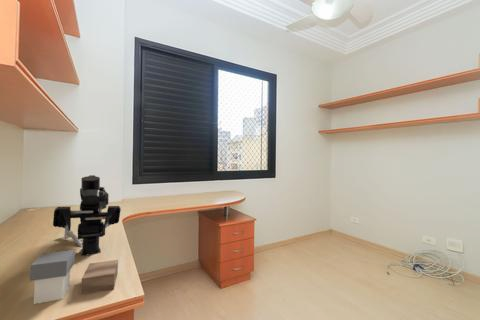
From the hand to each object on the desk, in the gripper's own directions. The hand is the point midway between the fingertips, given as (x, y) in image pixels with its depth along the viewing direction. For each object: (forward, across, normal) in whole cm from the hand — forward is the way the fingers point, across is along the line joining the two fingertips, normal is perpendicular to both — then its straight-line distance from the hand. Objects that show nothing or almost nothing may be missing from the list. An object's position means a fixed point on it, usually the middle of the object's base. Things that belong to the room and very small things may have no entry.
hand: (87, 228), depth 68 cm
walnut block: (+9, +5, +14) cm, 17 cm away
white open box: (+9, -6, +14) cm, 18 cm away
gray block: (+8, -6, +8) cm, 13 cm away
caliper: (-36, -5, +28) cm, 46 cm away
